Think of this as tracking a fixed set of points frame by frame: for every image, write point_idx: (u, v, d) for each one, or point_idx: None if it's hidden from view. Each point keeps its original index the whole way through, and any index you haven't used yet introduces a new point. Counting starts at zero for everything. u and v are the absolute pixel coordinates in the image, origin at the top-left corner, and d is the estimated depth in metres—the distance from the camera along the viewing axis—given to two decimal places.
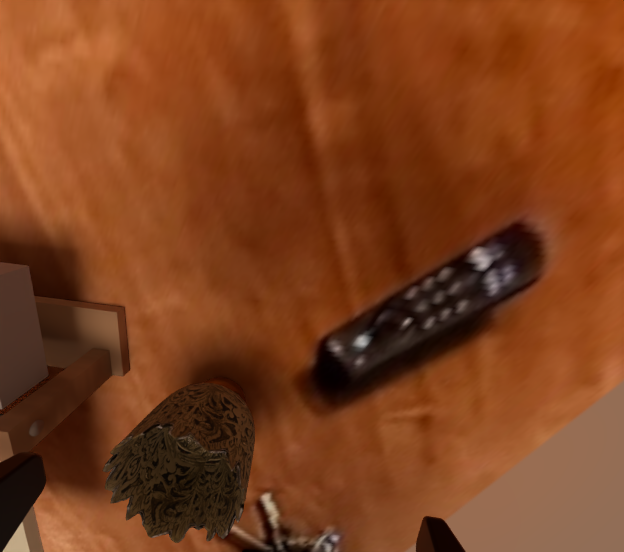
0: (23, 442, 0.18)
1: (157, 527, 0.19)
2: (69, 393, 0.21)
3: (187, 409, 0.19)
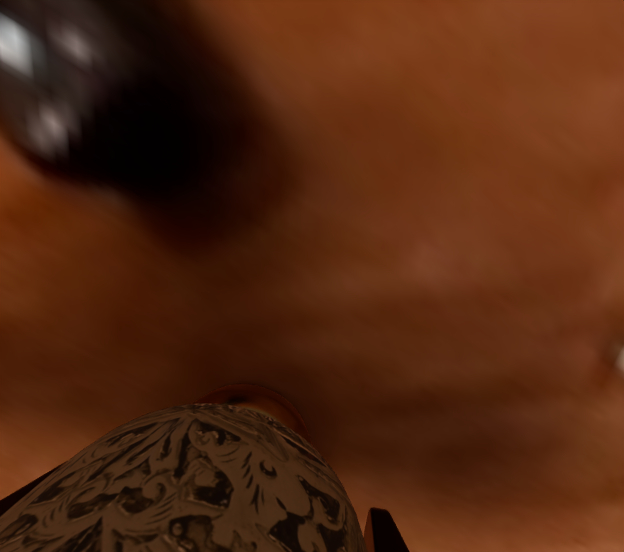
0: None
1: None
2: None
3: None
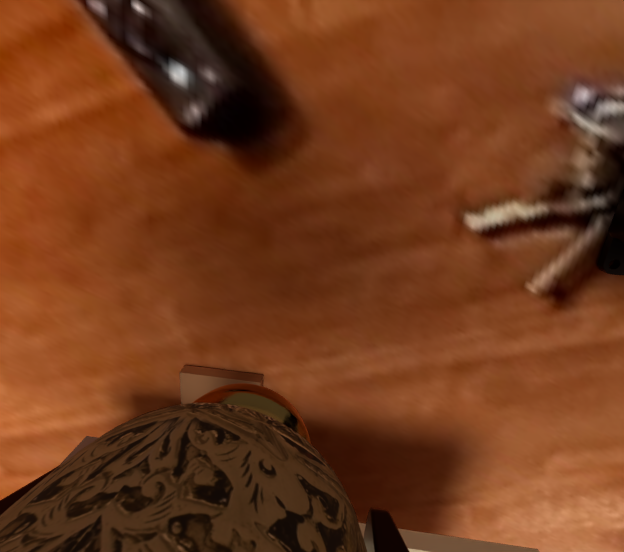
0: None
1: None
2: None
3: None
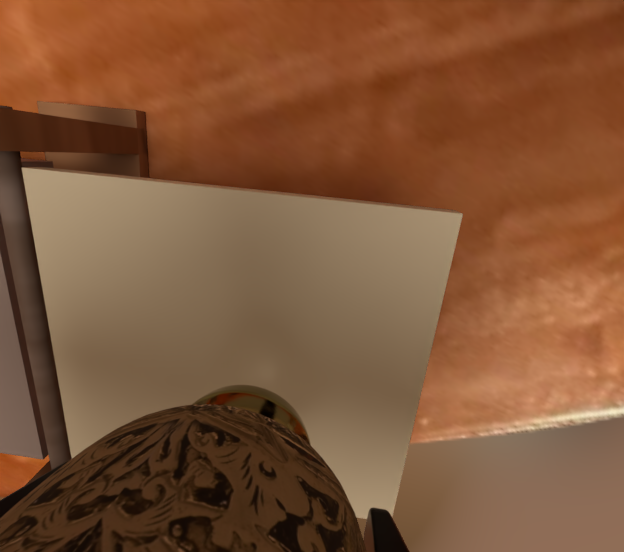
0: None
1: None
2: None
3: None
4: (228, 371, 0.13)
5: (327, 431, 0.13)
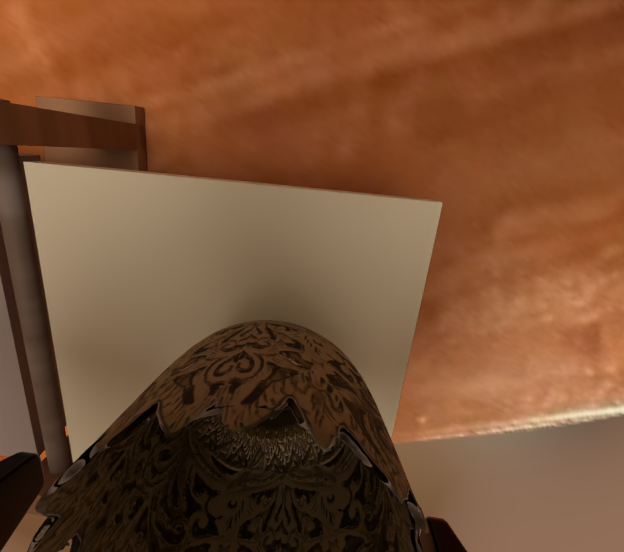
0: None
1: None
2: None
3: None
4: None
5: None
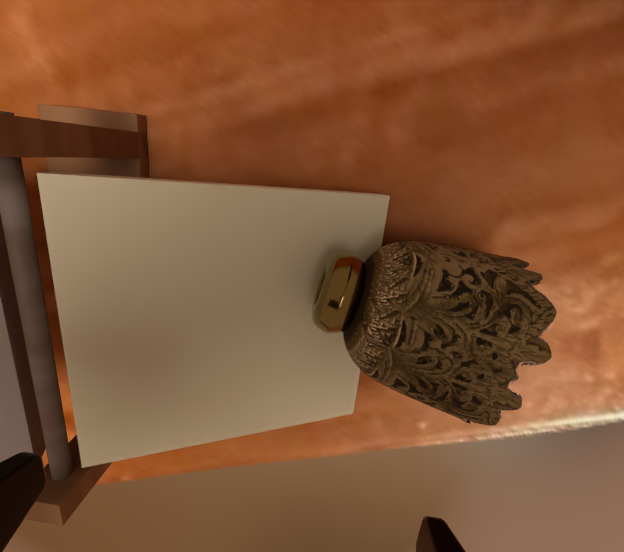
0: None
1: None
2: None
3: (486, 346, 0.12)
4: (238, 330, 0.16)
5: (311, 359, 0.19)
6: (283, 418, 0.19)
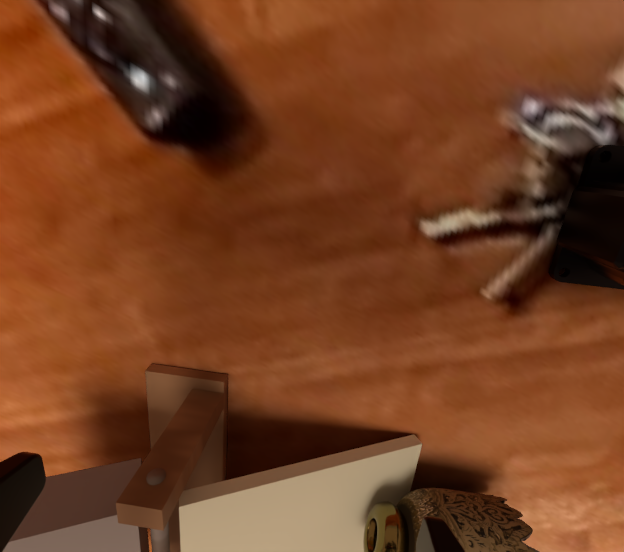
0: (151, 494, 0.15)
1: None
2: (174, 435, 0.18)
3: None
4: None
5: None
6: None
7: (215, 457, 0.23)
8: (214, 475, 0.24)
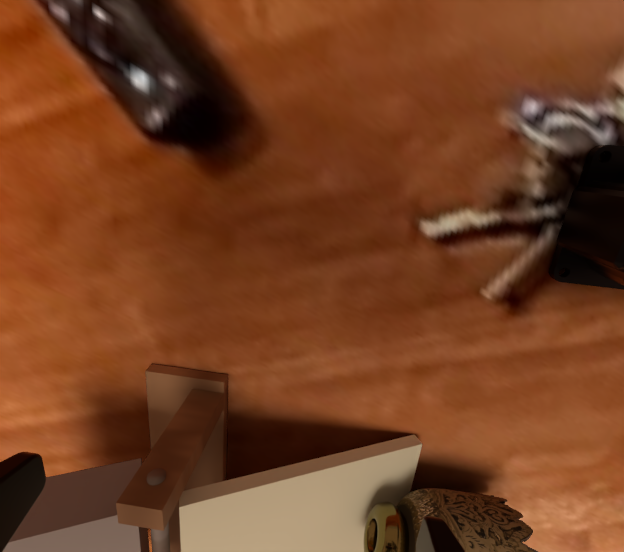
0: (152, 494, 0.15)
1: None
2: (174, 436, 0.18)
3: None
4: None
5: None
6: None
7: (215, 457, 0.23)
8: (214, 475, 0.24)
